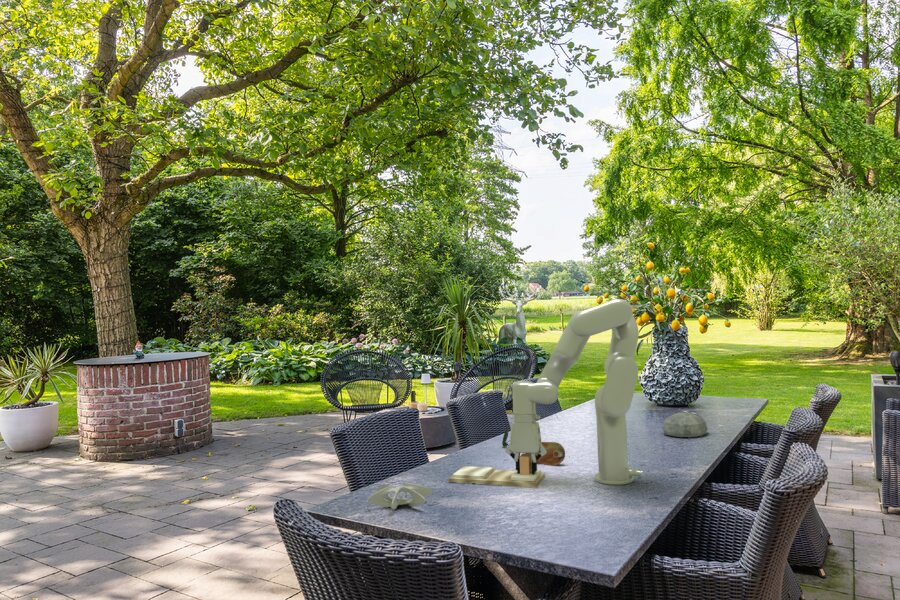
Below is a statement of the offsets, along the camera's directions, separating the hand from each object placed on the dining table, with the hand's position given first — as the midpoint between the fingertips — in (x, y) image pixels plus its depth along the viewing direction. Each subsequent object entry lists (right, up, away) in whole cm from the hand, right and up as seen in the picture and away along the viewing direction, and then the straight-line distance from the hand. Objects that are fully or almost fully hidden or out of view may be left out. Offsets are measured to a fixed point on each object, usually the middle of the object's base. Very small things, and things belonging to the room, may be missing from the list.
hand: (526, 472), depth 209 cm
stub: (0, -1, 0) cm, 1 cm away
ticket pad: (-10, -3, +3) cm, 11 cm away
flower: (+3, -5, +54) cm, 54 cm away
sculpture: (-40, -4, -22) cm, 46 cm away
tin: (+10, -3, +23) cm, 25 cm away
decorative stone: (+79, -2, +67) cm, 104 cm away
